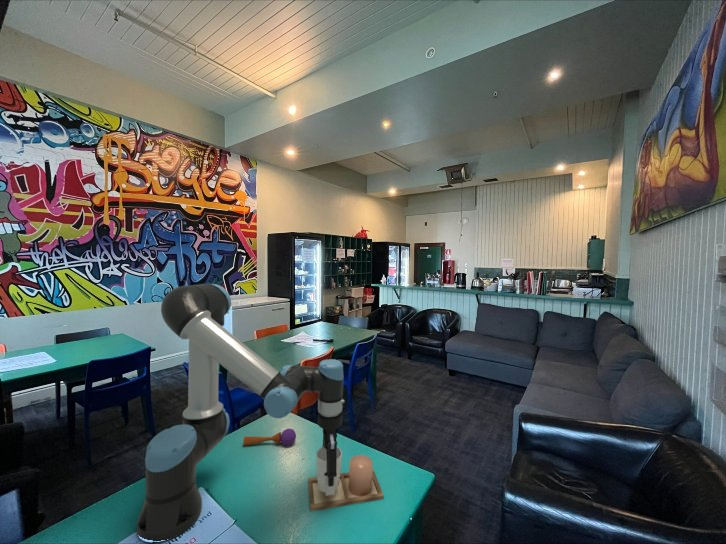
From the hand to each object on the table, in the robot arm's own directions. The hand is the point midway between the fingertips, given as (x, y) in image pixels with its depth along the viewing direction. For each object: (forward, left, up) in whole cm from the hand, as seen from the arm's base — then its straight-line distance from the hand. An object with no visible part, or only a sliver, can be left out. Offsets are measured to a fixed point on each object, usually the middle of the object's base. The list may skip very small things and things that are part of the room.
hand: (328, 484), depth 91 cm
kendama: (-19, +31, -4) cm, 37 cm away
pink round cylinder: (+10, 0, -3) cm, 11 cm away
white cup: (0, 0, 0) cm, 0 cm away
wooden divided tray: (+5, 0, -4) cm, 6 cm away
